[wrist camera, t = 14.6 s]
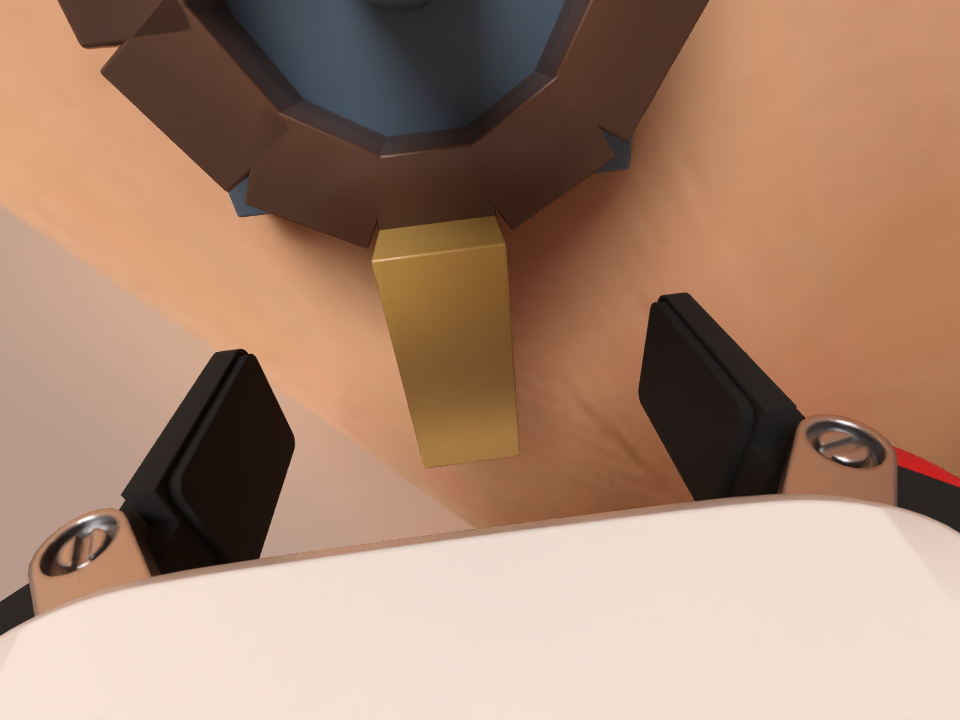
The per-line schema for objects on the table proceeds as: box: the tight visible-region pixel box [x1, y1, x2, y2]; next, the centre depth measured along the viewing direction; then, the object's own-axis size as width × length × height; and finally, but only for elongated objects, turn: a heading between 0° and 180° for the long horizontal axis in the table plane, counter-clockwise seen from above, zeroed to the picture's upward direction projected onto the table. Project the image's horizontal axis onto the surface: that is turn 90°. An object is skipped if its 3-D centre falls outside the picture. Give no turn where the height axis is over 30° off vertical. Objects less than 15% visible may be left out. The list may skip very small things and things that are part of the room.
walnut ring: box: [58, 0, 709, 468], centre depth 9 cm, size 16×11×4 cm, turn 6°
